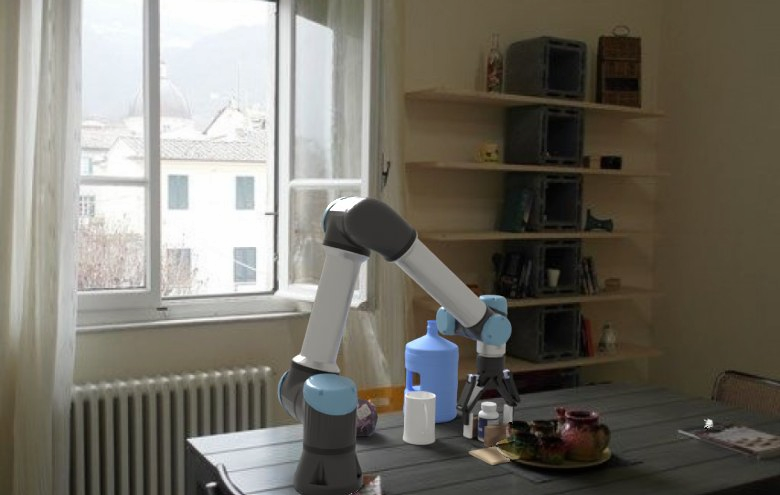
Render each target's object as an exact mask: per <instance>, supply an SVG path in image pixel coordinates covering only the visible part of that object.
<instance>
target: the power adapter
mask: <svg viewBox="0 0 780 495" xmlns="http://www.w3.org/2000/svg"><path fill="white" fill-rule="evenodd" d="M703 420H704V422H705V425H704V428H705V427H707V426H708V427H707V428H710V427H714V423H713V420H712V419H709V418H707V420H706V419H703Z"/></svg>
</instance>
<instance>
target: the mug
mask: <svg viewBox="0 0 780 495" xmlns="http://www.w3.org/2000/svg"><path fill="white" fill-rule="evenodd" d="M435 403H436V395H435V394H433V393H430V392H424V391H413V392H408V393H406V394H405V414H404V413H403V415H404V417H403V418H404V419H403V422H404V423H403V424H404V425H403V436H402V440H403V441H404V442H405V443H406V444H407V443H408V444H410V445H415V446H416V445H417V446H426V445H430V444H433V443H435V442H436V435H435V433H436V430H435V429H436V427H435V426H436V423H435Z"/></svg>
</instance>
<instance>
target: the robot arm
mask: <svg viewBox="0 0 780 495" xmlns="http://www.w3.org/2000/svg"><path fill="white" fill-rule="evenodd" d="M321 226H322V231H323V233H324V238H323V241H322V245H321V247H322V249H323V251H324V253H325V259H324V261H323V262H324V263H323V266H322V271H321V274H320V279H319V282H318V285H317V289H316V293H315V297H314V301H313V303H312V304H313V305H312V309H311V312H310V315H309V320H308V324H307V326H306V331H305V336H304V339H303V342H302V346H301V351H300V352H299V354H297V355H295V356H294V357H293V358H292V359H291V363H290V364H289V365H290V366H289V369H288V370H287V371H285V372H284V373H283V375H282V376H281V378H280V379H279V382H278V385H277V396H278V397H277V398H278V401H279V403H280V406H281V407H282V408H283V410H284V412H286V414H288V416H290V417H292V418H293V419H295V420H296V421H297V422H298V423H300V425H302V451H301V454H300V457H299V459H298V462H297V463H298V464H297V466H296V468H295V472H294V476H293V487H294V489H295V490H296V491H297V492H299V493H301V494H303V495H349V494H351V493H354V492H356V491H357V490H359V489H360V488H361V487H362V488H363V486H362V485H364V475H363V474H364V473H363V471H362V468H361V464H360V461H359V457H358V454H357V436H356V425H357V404H358V399H359V396H358V389H357V388H358V387H357V386H356V383H355V382H354V381H353V380H352V379H351V378H348V377H346V376H345V375H344V376H343V375H340V372H341V369H340V368H339V365H338V364H337V358H338V354H339V351H340V346H341V343H342V340H343V335H344V331H345V328H346V324H347V321H348V316H349V312H350V308H351V305H352V302H353V297H354V294H355V291H356V289H355V288H356V285H357V282H358V278H359V275H360V271H361V267H362V265H363V263H365V262H366V261H368V260H370V257H371V254H372V252H374V253H375V254H378V256H380V257H381V258H382V259H384V260H385V261H386V262H387V263H389V264H395V265H397V266H398V267H399V268H400V269H401V270H402V271H403V272H404V273H405V274H407V275H408V276H409V277H410V278H411V279H412V281H414V282H415V283H416V284H417V285H418V286H419V287H421V288H422V290H424V291H425V292H426V293H427V294H428V295H429V296H430V297H432V298H431V299H434V301H436V302H437V304H439V305H440V306H441V307H439V309H437V312H436V316H435V317H436V319H435V320H436V324H437V328H438V333H440V334H441V335H443V336H456V335H458V336H461V337H465V338H468V339H471V340H474V341H476V352H477V353H476V358H475V363H476V364H475V367H476V369H477V372H476V374H472V373H467V375H466V379H465V380H466V382H465V383H464V384H465V385H464V386H463V390H462V391H461V394H460V397H459V399H458V400H457V405H456V409H457V411H459V412H460V413H462V414H461V424H462V425H463V433H462V434H463V437H464V436H465V437H464V438H466V437H468V438H467V439H473V438H472V428H473V417H474V413H473V412H472V411H473V409H474V408H475V406H476V404H477V403H478V401H479V400H480V398H481V397H482V395H483V394H485V392H486V391H491V390H497V392H498V393H499V394H500V397H502V399H503V400H504V402H505V403H506V404H503V420H502V423H509V422H512V423H513V418H514V416H515V408H516V407H518V404H519V403H521V401H522V400H521V396H520V394H519V391H518V389H517V386H516V383H515V379H514V372H513V370H510V369H507V368H506V356H505V355H504V354H506V347H507V346H506V345H507V344H506V343H507V342H508V340H509V339H510V337H511V334H512V325H511V322H510V320H509V319H508V302H507V299H506V298H505V296H501V295H496V294H484V295H483V294H482V295H480V296H478V295H477V294H475V293H474V292H473V291H472V290H471V289H470V288H469V287H468V286H467V285H466V284H465V283H464V282H463V281H462V280H461V279H460V278H459V277H458V276H457V275H456V274H455V273H454V272H453V271H452V270H450V269H449V268H448V266H446V265H445V264H444V263H443V261H441V260H440V259H439V258H438V257H437V256H436V254H434V253H433V252H432V251H431V250H430V249H429V248H428V247H427V246H426V245H425V244H424V243H423V242H422V241H421V240H420V239H419V237H418V232H417V230H416V229H415V228H414V227H413V226H412V225H411V224H410V223H409V222H408V221H407V220H406V219H405V218H403V216H402V215H401V214H400V213H398V212H397V211H396V210H395V209H394V208H393V207H392V206H391V205H389V204H388V203H386V202H385V201H384V200H381V199H379V198H376V197H371V196H366V197H365V196H354V195H350V196H349V195H348V196H344V197H340V198H337V199H336V200H334V201H332V202H331V203H329V205H328V206H327V207H326V209H325V211H324V213H323V215H322V220H321ZM503 380H504V382H503ZM504 383H505V384H504ZM362 488H361V489H362ZM361 489H360V490H361ZM360 490H359V491H360ZM356 493H357V492H356ZM354 494H355V493H354ZM351 495H352V494H351Z"/></svg>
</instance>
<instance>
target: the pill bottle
mask: <svg viewBox="0 0 780 495" xmlns="http://www.w3.org/2000/svg"><path fill="white" fill-rule="evenodd" d="M480 407H481V410H479V412H478V415H477V416H478V437H477V439H478V441H479V442H483V443H484V431H485V426H491V425H497V424H500V422H499V421H500V420H499V418H500V414H499V412H498V411H497V407H498V406H497V403H496V402H492V401H483V402H481V406H480Z"/></svg>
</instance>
